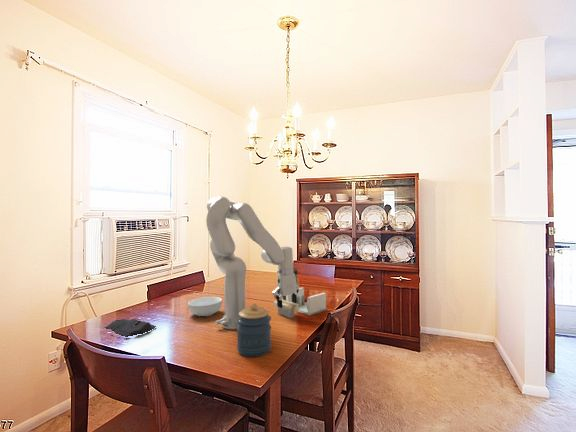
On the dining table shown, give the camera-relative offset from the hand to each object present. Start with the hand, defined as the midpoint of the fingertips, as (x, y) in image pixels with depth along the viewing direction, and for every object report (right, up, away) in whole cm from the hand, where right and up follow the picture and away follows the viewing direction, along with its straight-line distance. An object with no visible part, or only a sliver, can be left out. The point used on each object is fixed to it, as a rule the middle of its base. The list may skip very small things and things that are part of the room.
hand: (287, 305), depth 158 cm
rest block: (-1, -5, 0) cm, 5 cm away
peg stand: (+10, -5, +9) cm, 14 cm away
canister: (-12, -6, -40) cm, 42 cm away
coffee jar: (+2, -5, +27) cm, 28 cm away
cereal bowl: (-42, -6, +3) cm, 43 cm away
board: (-1, -1, 0) cm, 2 cm away
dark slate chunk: (-71, -7, -17) cm, 74 cm away
